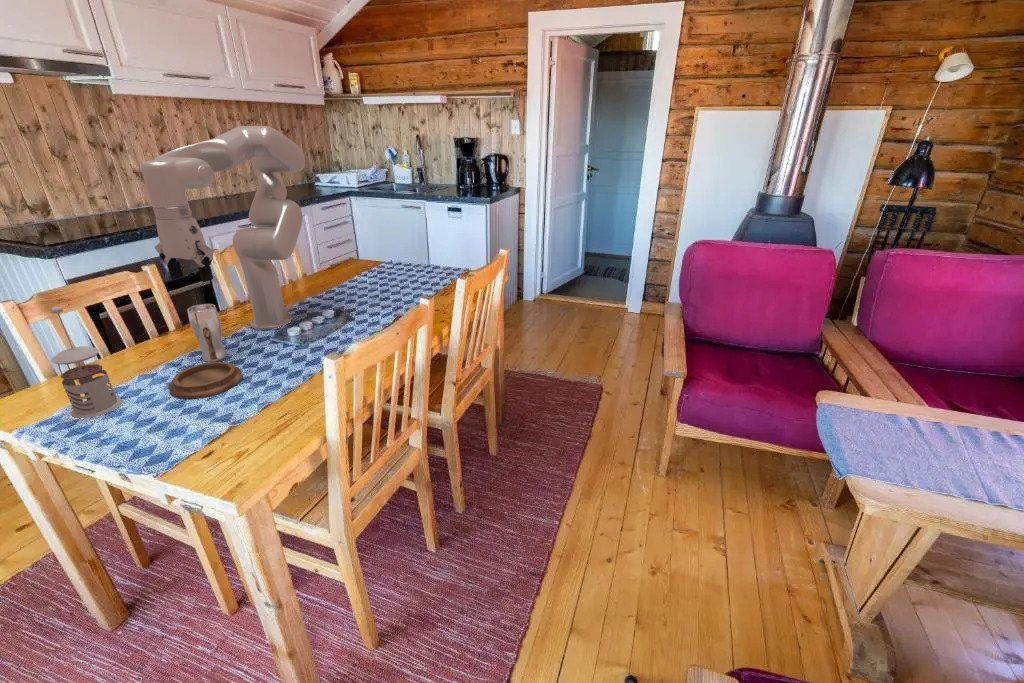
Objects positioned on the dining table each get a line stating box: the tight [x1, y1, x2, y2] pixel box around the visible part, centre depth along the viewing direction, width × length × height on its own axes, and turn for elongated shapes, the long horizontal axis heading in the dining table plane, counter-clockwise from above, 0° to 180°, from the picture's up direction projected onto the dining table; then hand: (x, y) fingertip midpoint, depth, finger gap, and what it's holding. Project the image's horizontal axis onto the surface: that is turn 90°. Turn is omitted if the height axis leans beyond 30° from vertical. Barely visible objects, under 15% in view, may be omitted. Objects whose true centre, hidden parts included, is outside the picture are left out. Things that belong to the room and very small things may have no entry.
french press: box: [50, 306, 124, 419], centre depth 105 cm, size 10×12×25 cm
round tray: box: [168, 361, 244, 400], centre depth 120 cm, size 16×16×3 cm
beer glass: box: [186, 303, 228, 363], centre depth 131 cm, size 7×7×15 cm
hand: (192, 279), depth 125 cm, fingers open, 9 cm apart
